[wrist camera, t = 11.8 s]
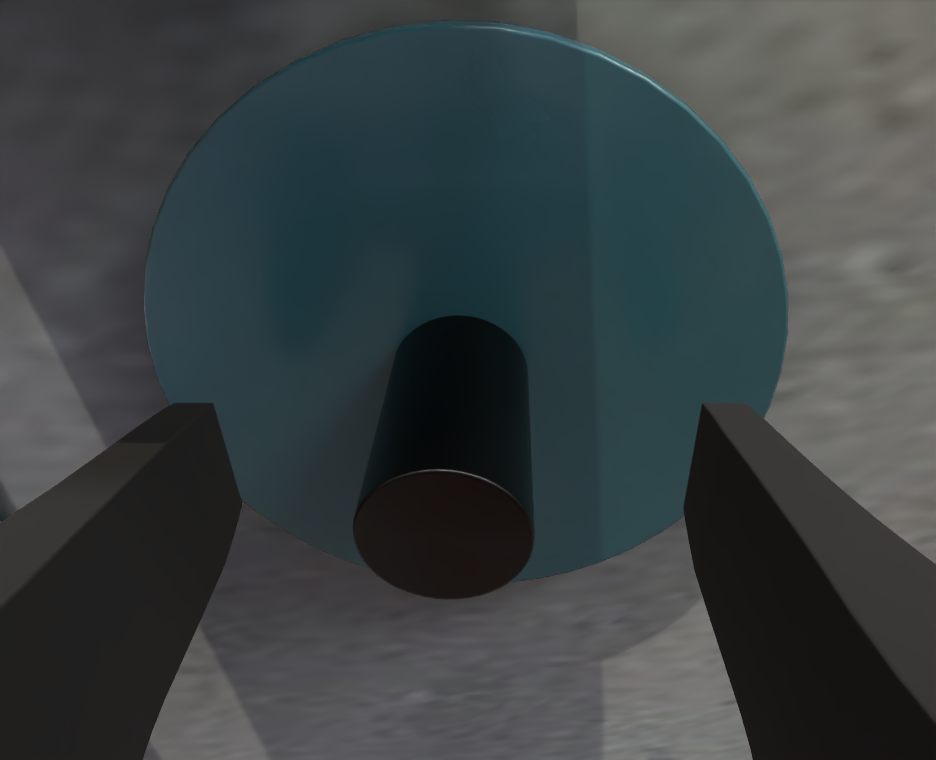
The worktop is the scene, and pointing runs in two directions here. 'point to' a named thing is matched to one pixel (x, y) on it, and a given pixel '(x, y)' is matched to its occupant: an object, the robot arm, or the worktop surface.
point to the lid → (464, 300)
